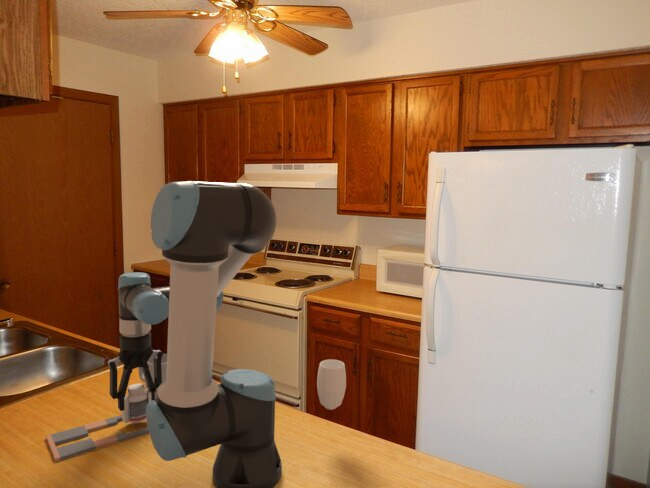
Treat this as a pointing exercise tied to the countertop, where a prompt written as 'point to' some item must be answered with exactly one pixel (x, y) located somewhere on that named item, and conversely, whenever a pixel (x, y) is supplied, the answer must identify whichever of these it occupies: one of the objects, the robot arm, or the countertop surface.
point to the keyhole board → (87, 444)
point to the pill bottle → (136, 403)
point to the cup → (331, 383)
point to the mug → (151, 369)
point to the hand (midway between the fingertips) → (137, 417)
